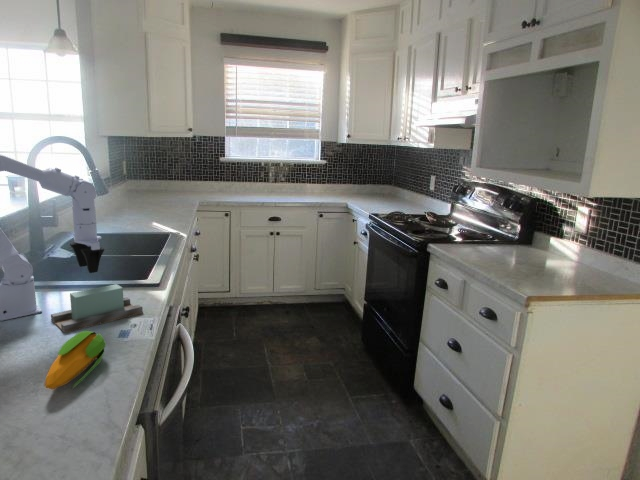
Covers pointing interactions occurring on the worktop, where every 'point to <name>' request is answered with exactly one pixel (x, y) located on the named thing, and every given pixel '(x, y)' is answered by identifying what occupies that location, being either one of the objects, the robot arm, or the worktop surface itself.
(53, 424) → the worktop surface
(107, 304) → the green block
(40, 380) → the worktop surface
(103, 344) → the corn
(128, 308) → the track
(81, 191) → the robot arm
